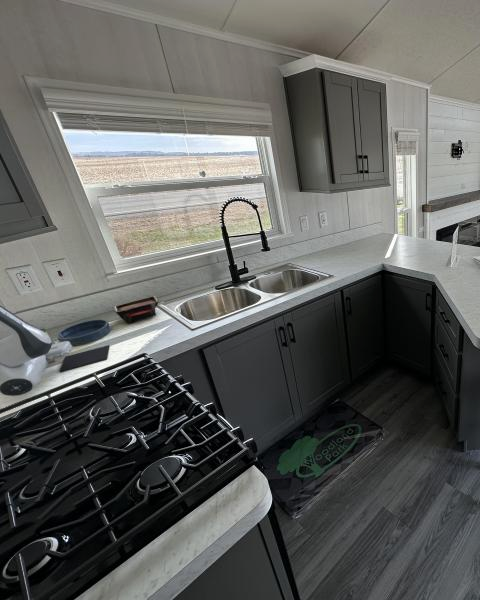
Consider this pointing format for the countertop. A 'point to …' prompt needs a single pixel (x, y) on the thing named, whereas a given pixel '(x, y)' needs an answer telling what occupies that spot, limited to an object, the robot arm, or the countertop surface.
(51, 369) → the countertop surface
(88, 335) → the bowl
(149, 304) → the baking dish
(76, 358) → the drying mat
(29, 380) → the robot arm
